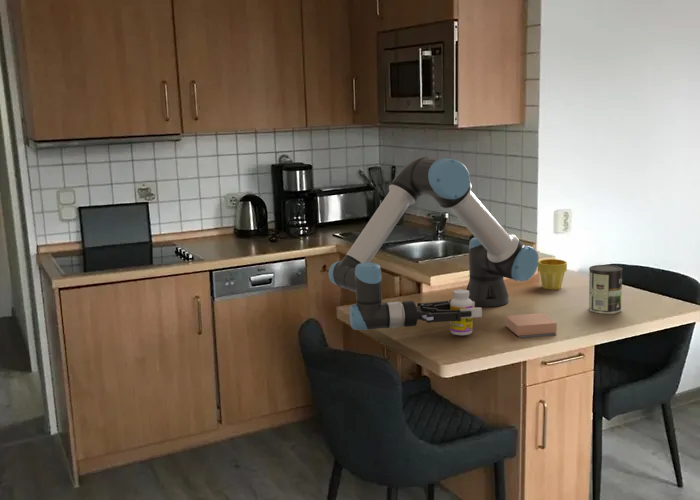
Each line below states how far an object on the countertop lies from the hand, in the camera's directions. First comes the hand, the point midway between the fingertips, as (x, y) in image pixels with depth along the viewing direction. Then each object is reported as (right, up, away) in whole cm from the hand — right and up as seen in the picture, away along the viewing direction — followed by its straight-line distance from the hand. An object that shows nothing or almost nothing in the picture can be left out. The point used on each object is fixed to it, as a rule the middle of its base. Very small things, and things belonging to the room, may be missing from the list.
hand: (477, 308), depth 227 cm
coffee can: (+45, -2, +22) cm, 51 cm away
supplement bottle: (-5, -7, +1) cm, 9 cm away
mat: (+17, -7, +4) cm, 18 cm away
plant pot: (+36, +4, +53) cm, 64 cm away
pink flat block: (+11, -5, +2) cm, 12 cm away
